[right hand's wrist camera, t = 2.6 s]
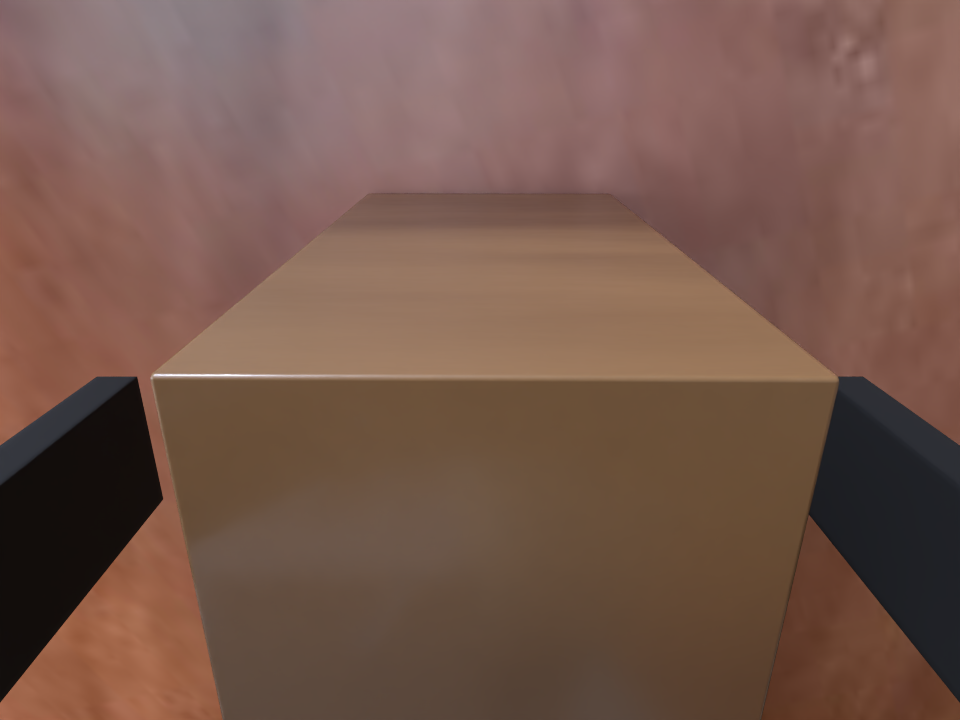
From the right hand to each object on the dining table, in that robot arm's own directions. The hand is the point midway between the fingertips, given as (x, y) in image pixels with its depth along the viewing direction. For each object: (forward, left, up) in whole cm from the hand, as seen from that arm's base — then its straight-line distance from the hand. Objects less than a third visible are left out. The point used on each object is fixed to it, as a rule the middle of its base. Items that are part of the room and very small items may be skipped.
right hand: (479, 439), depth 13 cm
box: (+2, +9, -6) cm, 11 cm away
